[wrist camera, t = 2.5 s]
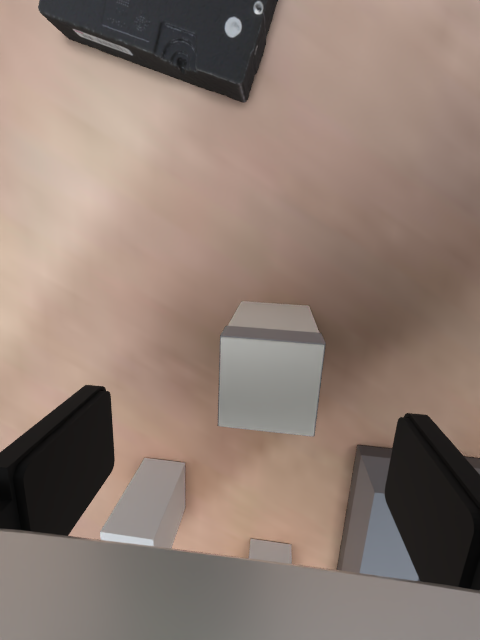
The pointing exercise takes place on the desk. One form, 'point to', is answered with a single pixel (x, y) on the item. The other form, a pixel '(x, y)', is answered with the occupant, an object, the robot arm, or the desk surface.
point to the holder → (374, 521)
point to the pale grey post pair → (165, 512)
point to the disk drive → (174, 36)
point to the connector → (270, 369)
